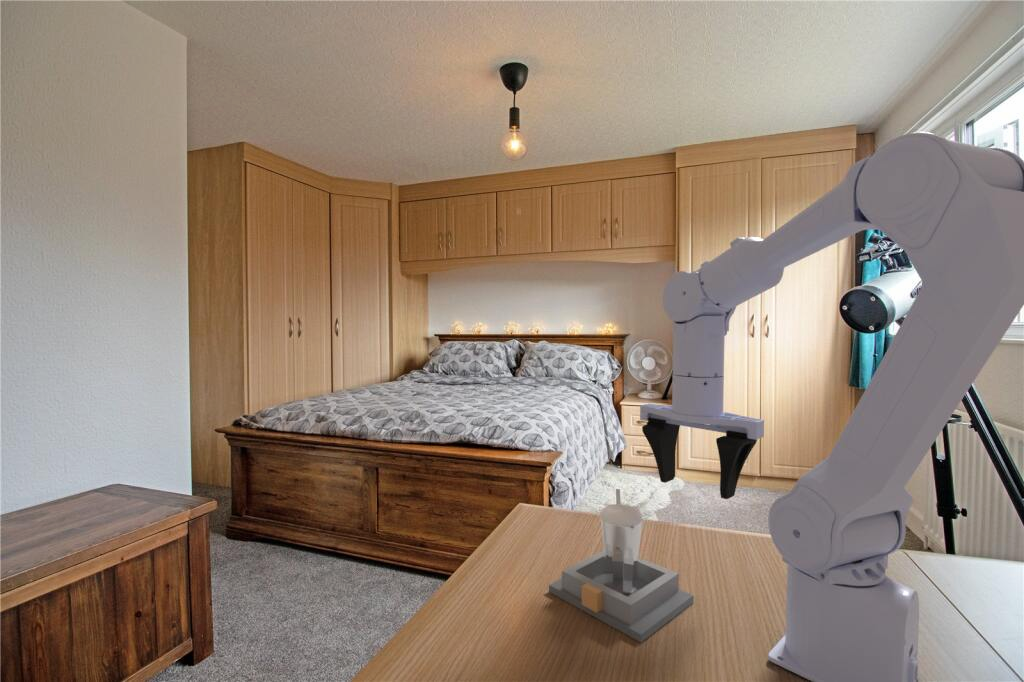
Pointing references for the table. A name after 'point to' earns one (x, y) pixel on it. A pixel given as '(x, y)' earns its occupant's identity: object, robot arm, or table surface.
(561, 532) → the table surface
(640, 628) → the box
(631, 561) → the milkshake
